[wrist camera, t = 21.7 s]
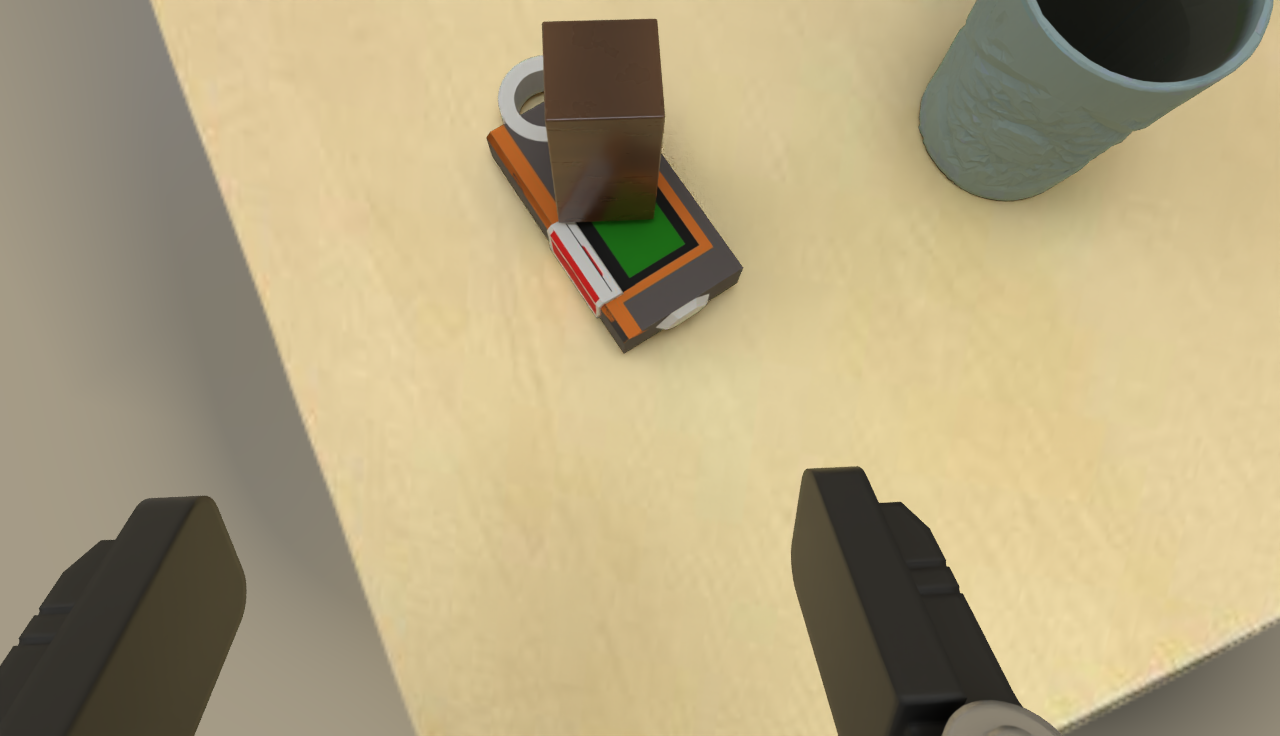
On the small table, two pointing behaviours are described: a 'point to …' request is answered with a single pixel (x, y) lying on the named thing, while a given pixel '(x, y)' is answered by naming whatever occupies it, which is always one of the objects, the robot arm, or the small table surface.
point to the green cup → (1071, 82)
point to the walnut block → (603, 117)
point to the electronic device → (614, 231)
